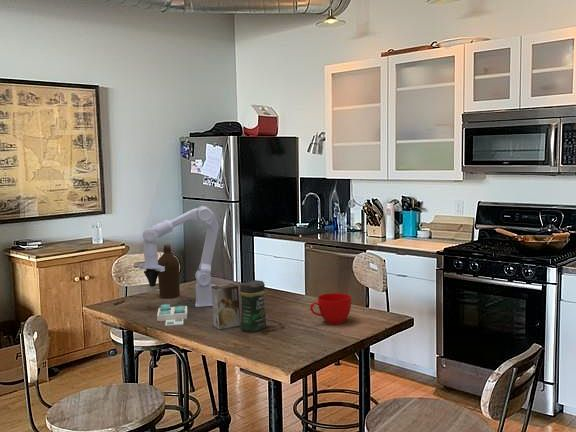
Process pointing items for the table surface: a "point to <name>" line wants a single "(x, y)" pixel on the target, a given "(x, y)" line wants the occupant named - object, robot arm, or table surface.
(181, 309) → the button
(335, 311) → the ceramic cup
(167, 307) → the button
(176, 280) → the olive oil
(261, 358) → the table surface
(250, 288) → the coffee jar
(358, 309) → the table surface
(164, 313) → the button
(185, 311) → the button board
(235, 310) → the coffee box
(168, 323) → the card
